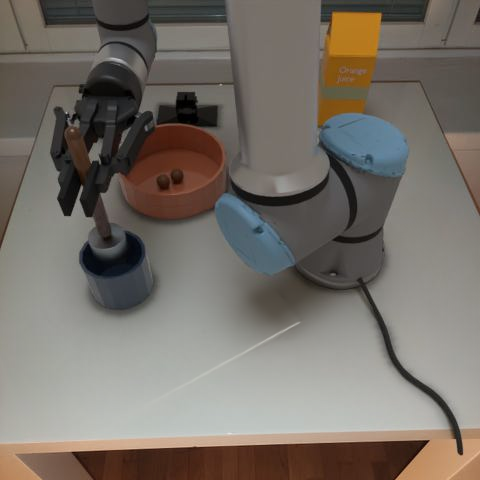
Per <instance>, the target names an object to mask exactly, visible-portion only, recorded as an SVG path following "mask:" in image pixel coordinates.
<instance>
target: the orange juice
mask: <svg viewBox="0 0 480 480" xmlns="http://www.w3.org/2000/svg"><path fill="white" fill-rule="evenodd" d="M382 14H383V12H382V11H381V12H380V11H379V12H376V11H374V12H373V11H371V12H370V11H332V14H331V17H330V21H329V23H328V27H327V30H326V33H325V38H324V44H323V52H322V59H321V65H320V68H319V90H318V123H317V127H323V125H324V123H325V122H326V121H327V120H328V119H329V118H331V117H333V116H336V115H339V114H344V113H360V114H364V111H365V108H366V107H365V106H366V102H367V100H368V95H369V92H370V87H371V82H372V79H373V74H374V70H375V67H376V62H377V58H378V49H379V40H380V32H381V25H382V24H381V22H382Z"/></svg>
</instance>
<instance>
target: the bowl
mask: <svg viewBox="0 0 480 480" xmlns="http://www.w3.org/2000/svg"><path fill="white" fill-rule="evenodd" d="M119 149H120V147H119V148H118V151H119ZM173 169H180V170H181V171H182V172H183V174H184V177H183V180H182V181H180V182H174V181H173V180H172V179H171V177H170V174H171V171H172V170H173ZM162 174H164V175H167V176H168V177H169V179H170V184H169V186H168V187H167V188H160V187H159V186H158V185H157V182H156V180H157V177H158V176H159V175H162ZM117 177H118V180H119V184H120V189H121V192H122V196H123V197H124V199H125V201H126V202H127V203H128V204H129V205H130V206H131V207H132V208H133V209H134V210H136V211H137V212H139V213H141V214H143V215H145V216H148V217H150V218H151V217H152V218H155V219H162V220H180V219H187V218H191V217H193V216H196V215H199V214H202V213H203V212H205V211H207V210H212V209H213V208H215V204H216V202H217V201H218V199H219V198H220V197H221V196H222V194H225V193H226V189H227V152H226V150H225V146H224V145H223V143H222V141H220V139H219V138H218V137H217V136H216V135H215V134H214V133H212V132H210V131H208V130H206V129H205V128H203V127H196V126H193V125H187V124H162V125H155V131H154V132H153V133H152V134H151V135H150V136H149V137H147V138H146V140H145V142H144V144H143V147H142V149H141V151H140V153H139V155H138V157H137V159H136V161H135V163H134V165H133V167H132V169H131V171H130V173H129V174H127V175H122V174H121V173H117Z"/></svg>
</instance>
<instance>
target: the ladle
mask: <svg viewBox="0 0 480 480" xmlns="http://www.w3.org/2000/svg"><path fill="white" fill-rule="evenodd" d="M78 128H79V127H77V126H75V125H73V126H70V127H68V128H67V129H66V130H65V138H66V141H67V144H68V147H69V150H70V152H71V155H72V158H73V161H74V164H75V167H76V170H77V173H78V176H79V179H80V181H81V184H82V185H81V188H83V187H84V184H85V181H86V178H87V175H88V172H89V169H90V167H91V163H92V161H91V159H90V156H89V154H88V152H87V149H86V146H85V143H84V139H83V136H82V133H81V131H80V130H79V129H78ZM101 194H102V193H100V194H99V197H98V200H97V204H96V207H95V210H94V213H93V217H92V219H93V222H94V225H95V226H93V227H92V229H90V230H89V233H88V235H87V241H89V244H90V247H91V249H92V252H93V255H94V257H95V258H96V259H97V260H98V261H100V262H102V263H115V262H118V261H120V260H122V259H123V258H124V257H125V256H126V255H127V253H128V250H129V247H128V243H127V239H126V236H125V232H124V230H125V229H124V228H123V227H122V226H121V225H120V224H118V223H115V222H110V220H109V217H108V214H107V211H106V208H105V205H104V201H103V198H102V195H101Z"/></svg>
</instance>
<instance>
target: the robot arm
mask: <svg viewBox="0 0 480 480" xmlns="http://www.w3.org/2000/svg"><path fill="white" fill-rule="evenodd" d="M91 3H92V7H93V12H94V17H95V23H96V27H97V32H98V36H99V40H100V45H99V49H98V52H97V54H96V56H95V59H94V60H93V63H92V65H91V68H90V70H89V73H88V75H87V78H86V81H85V83H84V84H85V86H84V88H83V92H82V95H81V98H80V99H79V100H80V101H79V102H78V103H76V102H75V104H74V106H73V108H71V109H68V110H64V108H63V107H62V106H55V107H54V108H53V110H52V111H53V114H54V117H55V124H54V128H53V134H52V139H51V145H50V150H49V155H50V157H51V160H52V162H53V165H54V168H55V170H56V171H57V172H58V173H59V174H58V176H57V183H58V185H59V187H60V189H59V191H58V195H57V196H56V200H57V202H58V206H59V207H60V210H61V212H62V214H63V217H72V215H73V211H74V208H75V205H76V202H77V200H78V196H79V193H80V190H81V188H82V191H81V193H80V196H79V202H80V206H81V208H82V211H83V214H84V216H85V218H93V213H94V210H95V207H96V204H97V200H98V197H99V194H106V193H107V192H108V191H109V189H110V188H109V187H110V185H111V181H112V178H113V177H114V176H115V175H116V174H118V173H121V174H122V175H127V174H129V173H130V171H131V169H132V167H133V165H134V163H135V161H136V159H137V157H138V155H139V153H140V151H141V149H142V147H143V144H144V142H145V140H146V138H147V137H149V136H150V135H151V134H152V133H153V132H154V131H155V126H156V125H155V119H154V118H155V117H154V113H153V111H152V110H145V111H143V112H140V108H141V104H142V100H143V96H144V94H145V90H146V87H147V82H148V79H149V75H150V71H151V68H152V65H153V62H155V61H154V60H155V58H156V54H157V51H158V31H157V28H156V25H155V24H154V22H153V21H152V19H151V18H150V11H149V0H91ZM224 3H225V4H224V7H225V15H226V25H227V34H228V35H227V36H228V43H229V54H230V55H229V56H230V64H231V73H232V74H231V75H232V83H233V84H232V85H233V94H234V103H235V113H236V122H237V124H236V125H237V130H238V131H237V133H238V141H239V142H238V143H239V151H238V152H237V153H236V154H235V155H234V156H233V158H232V159H231V161H230V164H229V166H228V167H229V168H228V172H229V173H228V174H229V180H230V181H229V183H230V191H229V192H225V193H224V194H222V196H221V197H220V198H219V199H218V201H217V202H216V204H215V206H214V215H215V218H216V221H217V224H218V227H219V229H220V231H221V233H222V235H223V237H224V238H225V240H226V242H227V243H228V245H229V246H230V248H231V249H232V250H233V252H234V253H235V254H236V255H237V257H238V258H239V259H240V260H241V261H242V262H243V263H244V264H245V265H247V266H248V267H249V268H250V269H252V270H253V271H254V272H256V273H259V274H262V275H264V276H272V275H277V274H279V273H280V272H283V271H284V270H286V269H288V268H292V267H293V266H294V267H295V268H296V270H297V271H298V272H299V273H300V274H301V275H302V276H303V277H305V278H306V279H307V280H308V281H311V282H312V283H314V284H316V285H318V286H321V287H324V288H329V289H330V288H331V289H335V290H336V289H337V290H345V289H346V290H347V289H354V288H358V287H361V289H362V291H363V293H364V295H365V297H366V299H367V301H368V303H369V306H370V307H371V310H372V311H373V313H374V315H375V316H376V319H377V322H378V323H379V326H380V329H381V331H382V334H383V338H384V341H385V344H386V348H387V352H388V354H389V356H390V358H391V360H392V362H393V364H394V366H395V367H396V368H397V369H398V371H399V372H400V373H401V374H402V375H403V376H404V377H405V378H406V379H407V380H409V381H410V382H411V383H413V384H414V385H416V387H419V388H421V389H422V390H423V391H424V392H426V393H427V394H429V395H430V396H431V397H432V398H433V399H435V400H436V402H437V403H438V404H439V405H440V406H441V408H442V409H443V410H444V412H445V414H446V415H447V417H448V419H449V420H450V423H451V426H452V429H453V432H454V433H453V434H454V437H455V438H454V439H455V442H456V451H457V452H456V453H457V454H458V455H459V456H463V455H464V444H463V438H462V433H461V430H460V426H459V423H458V421H457V418H456V416H455V415H454V413H453V411H452V409H451V408H450V406H449V405H448V403H447V402H446V401H445V400H444V399H443V397H441V396H440V395H439V393H437V392H436V391H435V390H433V389H432V388H431V387H429V386H428V385H426V383H423V382H422V381H420V380H419V379H417V378H416V377H415V376H413V375H412V374H411V373H410V372H409V371H407V369H406V368H405V367H404V366H403V364H401V362H400V361H399V359H398V358H397V355H396V353H395V350H394V347H393V345H392V341H391V338H390V334H389V331H388V328H387V325H386V323H385V320H384V319H383V316H382V314H381V313H380V311H379V308H378V306H377V304H376V303H375V301H374V299H373V296H372V295H371V293H370V291H369V289H368V287H367V285H366V284H367V283H369V282H370V281H372V280H373V279H374V278H375V277H376V276H377V274H378V273H379V271H380V269H381V267H382V265H383V262H384V259H385V254H386V246H385V241H384V226H385V224H386V223H385V222H386V220H387V217H388V215H389V212H390V209H391V207H392V204H393V202H394V199H395V196H396V193H397V191H398V188H399V186H400V183H401V181H402V178H403V175H404V174H405V172H406V170H407V167H406V165H407V162H408V158H409V155H410V147H409V142H408V140H407V137H406V136H405V135H404V133H403V132H402V131H401V130H400V129H399V128H397V126H395V125H393V124H392V123H391V122H388V121H386V120H385V119H383V118H379V117H377V116H374V115H371V114H365V113H363V114H360V113H344V114H339V115H336V116H333V117H331V118H329V119H328V120H327V121H326V122H325V123H324V125H323V126H321V129H320V131H319V134H318V125H317V123H318V90H319V76H320V55H321V25H322V24H321V19H322V0H224ZM77 120H78V123H80V125H79V126H78V127H77V128H78V129H79V130H80V131H81V133H82V136H83V139H84V143H85V146H86V149H87V152H88V155H89V154H90V152H91V150H92V149H93V146H94V144H97V143H98V141H99V139H100V138H101V137H100V135H104V136H103V141H102V145H101V150H100V153H99V152H98V153H97V154H98V157H99V160H92V161H91V167H90V169H89V172H88V175H87V178H86V181H85V184H84V187H82V184H81V181H80V179H79V176H78V173H77V170H76V167H75V164H74V161H73V158H72V155H71V152H70V150H69V147H68V144H67V141H66V138H65V130H66V129H67V128H68V127H70V126H75V122H76V121H77ZM127 130H128V132H127V134H126V136H125V138H124V140H123V142H122V137H123V133H124V132H125V131H127ZM318 139H319V140H318ZM120 144H121V145H120ZM119 148H120V149H119ZM118 150H119V151H118Z"/></svg>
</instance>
